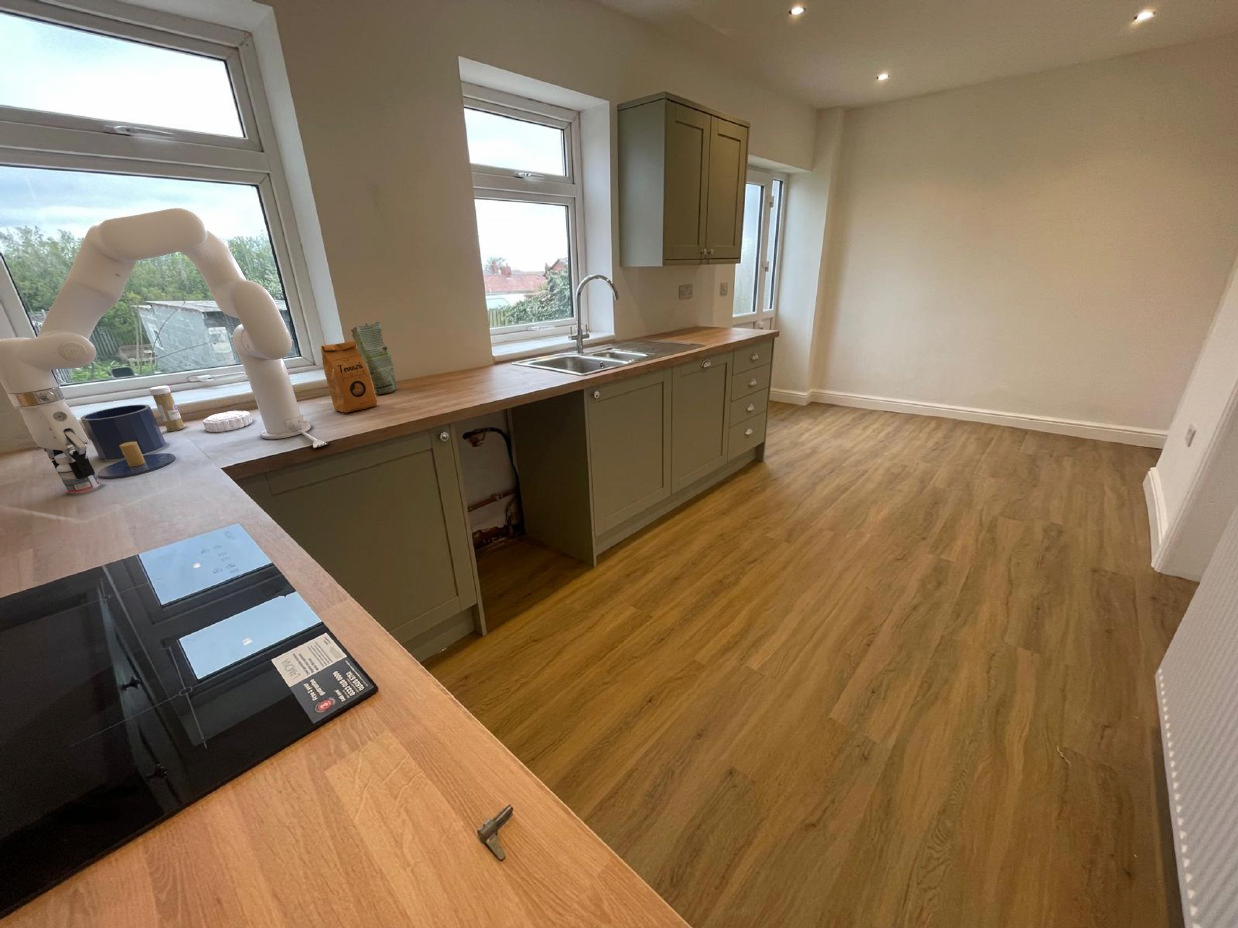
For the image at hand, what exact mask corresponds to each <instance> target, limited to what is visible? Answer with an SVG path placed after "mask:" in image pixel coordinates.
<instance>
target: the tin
mask: <svg viewBox="0 0 1238 928" xmlns="http://www.w3.org/2000/svg"><path fill="white" fill-rule="evenodd" d="M79 418H80V421H81V423H82V424H83V427H84V429H85V432H86V433H87V435H88V438H89V439H90V441H91V443H92V446H93V447H94V449H95V451H96V453H97V455H98V457H99V459H100V460H103V461H110V460H113V461H114V460H121V459H122V460H123V459H125V457H124V454H123V452H122V450H121V448H120V445H121V444H123V443H127V442H137V444H138V446H139V448H140V450H141V453H142V455H147V454H148V453H151V452H154V451H157V450H160V449H161V448H163V447H165V445H166V444H167V441H166V440H165V437H164V436H163V434H162V431H161V428H160V427H159V424H158V422H157V419H156V417H155V415H154V412H153V410H152V408H151V406H150V405H149V404H129V405H122V406H115V407H109V408H104V409H100V410H97V411H93V412H90V413H87V414H84V415H82V416H81V417H79Z"/></svg>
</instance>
